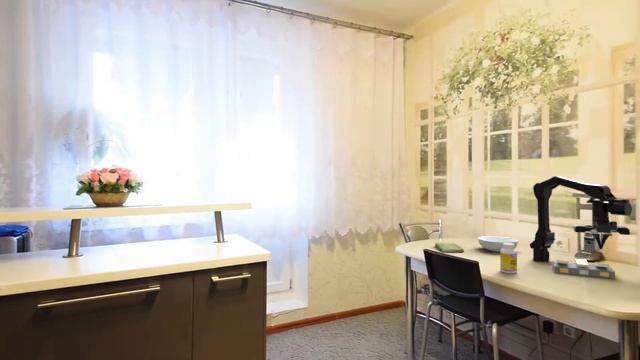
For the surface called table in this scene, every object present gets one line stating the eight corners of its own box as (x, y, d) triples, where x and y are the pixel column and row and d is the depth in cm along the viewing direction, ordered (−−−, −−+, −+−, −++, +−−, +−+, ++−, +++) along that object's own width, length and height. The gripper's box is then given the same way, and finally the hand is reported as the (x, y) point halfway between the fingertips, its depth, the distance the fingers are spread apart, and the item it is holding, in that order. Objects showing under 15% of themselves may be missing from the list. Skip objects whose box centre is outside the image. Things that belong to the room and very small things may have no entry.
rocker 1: (558, 262, 157) (558, 259, 157) (556, 261, 162) (556, 258, 162) (568, 263, 155) (568, 260, 155) (567, 262, 160) (567, 259, 160)
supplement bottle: (510, 274, 154) (510, 245, 154) (497, 271, 160) (497, 243, 159) (520, 272, 157) (520, 244, 157) (506, 269, 163) (506, 241, 163)
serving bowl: (526, 254, 192) (526, 241, 192) (488, 254, 192) (487, 242, 192) (506, 246, 213) (506, 235, 212) (472, 247, 213) (472, 235, 213)
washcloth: (442, 253, 198) (442, 248, 198) (433, 247, 216) (433, 242, 216) (465, 253, 198) (465, 247, 198) (455, 247, 215) (455, 241, 215)
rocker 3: (597, 265, 150) (597, 262, 150) (594, 265, 155) (594, 262, 155) (609, 266, 148) (609, 263, 148) (605, 266, 153) (605, 263, 153)
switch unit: (554, 272, 155) (554, 265, 155) (552, 267, 164) (552, 260, 164) (615, 279, 145) (615, 270, 145) (609, 272, 154) (609, 265, 154)
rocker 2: (577, 266, 153) (577, 263, 153) (575, 261, 159) (575, 258, 158) (588, 267, 151) (588, 264, 151) (586, 262, 157) (586, 259, 156)
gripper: (577, 214, 151) (577, 250, 151) (633, 216, 142) (633, 254, 142) (573, 212, 160) (573, 246, 161) (625, 213, 151) (626, 249, 152)
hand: (600, 249), depth 153 cm, fingers closed
